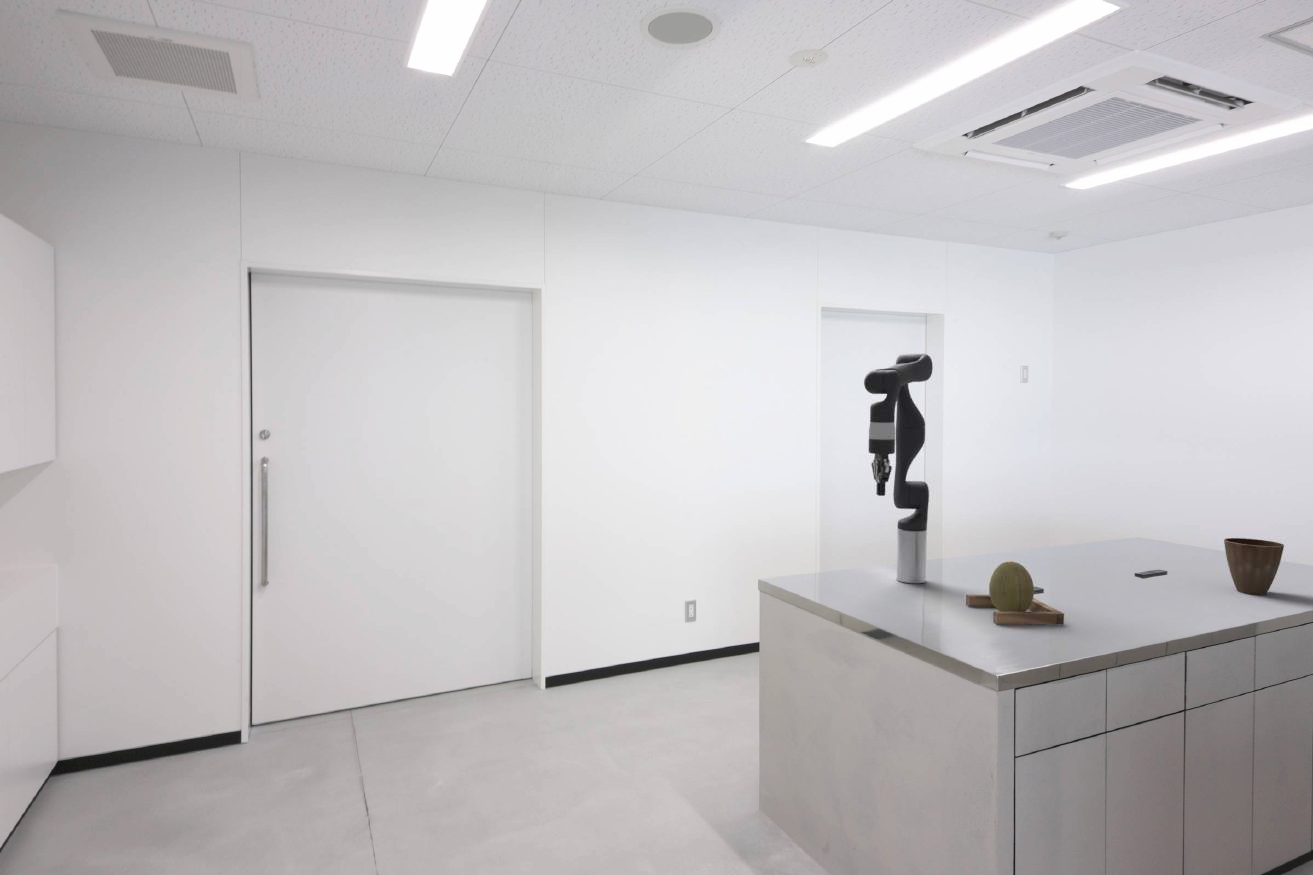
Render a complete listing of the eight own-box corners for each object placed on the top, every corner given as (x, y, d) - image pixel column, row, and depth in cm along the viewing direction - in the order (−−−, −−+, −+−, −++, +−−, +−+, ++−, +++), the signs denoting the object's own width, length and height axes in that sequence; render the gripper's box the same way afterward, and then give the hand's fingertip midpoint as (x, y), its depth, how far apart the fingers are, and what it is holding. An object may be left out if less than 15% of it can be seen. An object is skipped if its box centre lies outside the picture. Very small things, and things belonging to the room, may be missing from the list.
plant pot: (1219, 584, 250) (1221, 536, 250) (1277, 590, 243) (1279, 540, 242) (1225, 594, 238) (1227, 543, 237) (1286, 600, 230) (1288, 548, 229)
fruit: (1018, 608, 220) (1020, 557, 219) (1041, 619, 209) (1043, 565, 208) (980, 609, 219) (982, 557, 218) (1002, 620, 208) (1003, 566, 207)
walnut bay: (966, 604, 224) (966, 594, 224) (1027, 604, 224) (1027, 594, 224) (996, 624, 204) (997, 613, 204) (1063, 624, 204) (1064, 613, 204)
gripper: (901, 438, 220) (900, 498, 221) (887, 436, 233) (886, 492, 234) (875, 438, 220) (874, 498, 221) (863, 436, 233) (862, 492, 234)
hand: (880, 495), depth 227 cm, fingers closed
